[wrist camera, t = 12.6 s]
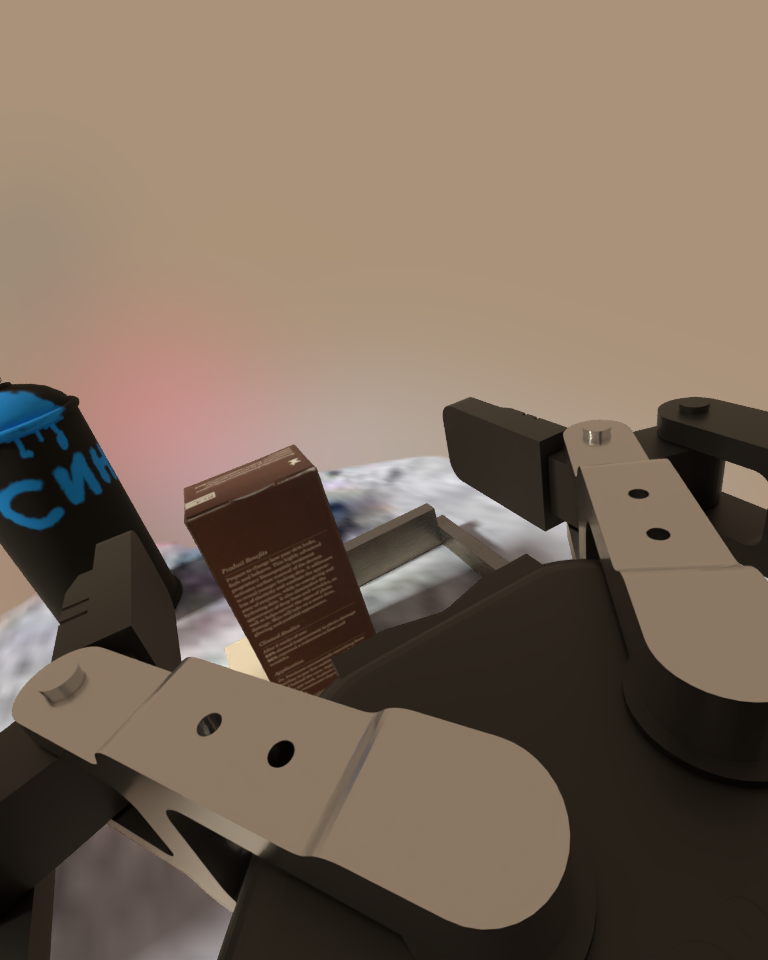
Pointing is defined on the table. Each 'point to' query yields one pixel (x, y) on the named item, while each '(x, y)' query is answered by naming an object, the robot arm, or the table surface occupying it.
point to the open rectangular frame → (415, 545)
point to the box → (280, 566)
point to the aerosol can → (59, 493)
